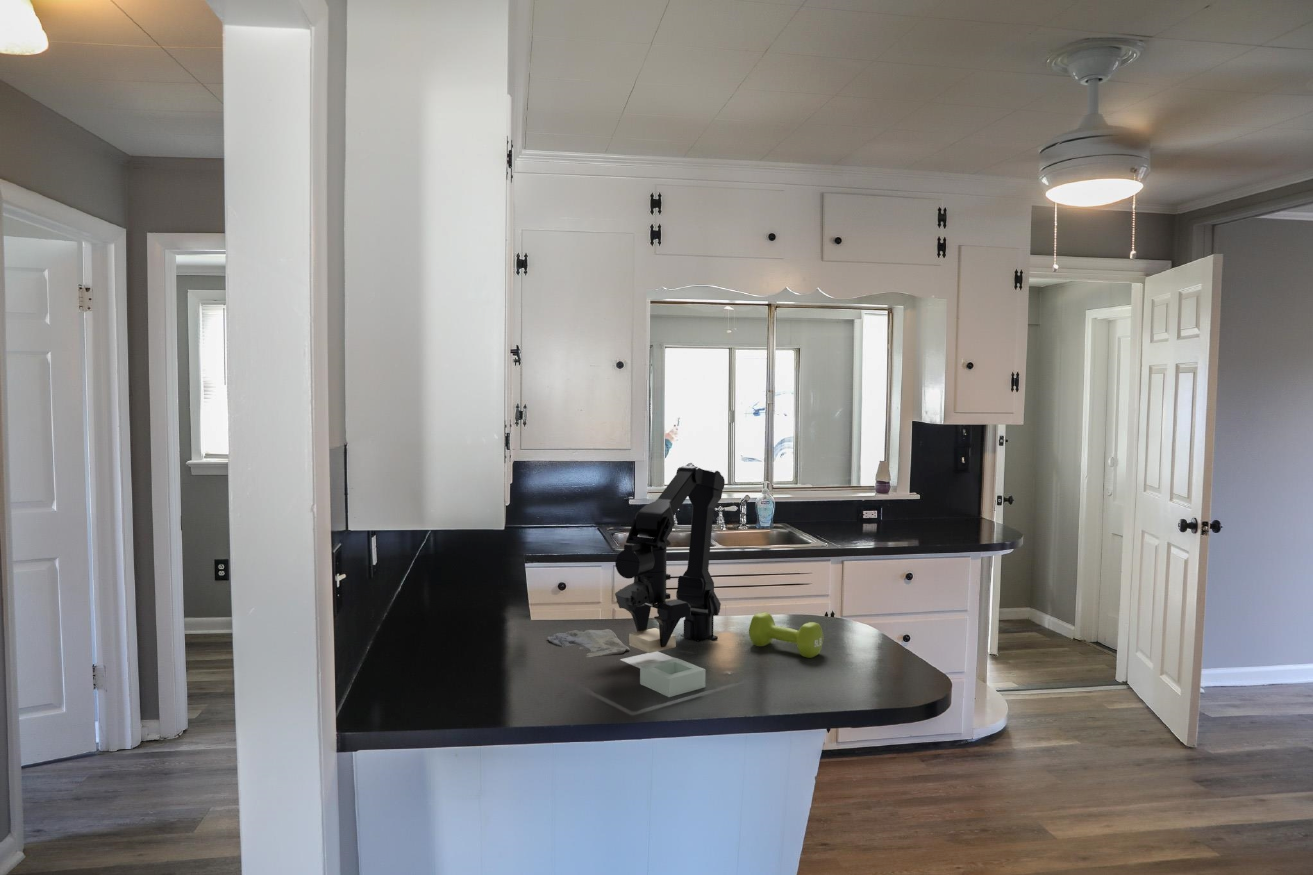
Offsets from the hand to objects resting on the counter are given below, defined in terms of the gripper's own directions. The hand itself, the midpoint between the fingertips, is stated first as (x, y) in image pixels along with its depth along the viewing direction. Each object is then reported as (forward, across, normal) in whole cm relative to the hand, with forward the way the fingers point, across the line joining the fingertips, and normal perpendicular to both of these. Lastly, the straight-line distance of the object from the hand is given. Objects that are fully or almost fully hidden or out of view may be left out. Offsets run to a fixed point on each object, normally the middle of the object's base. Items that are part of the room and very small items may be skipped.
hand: (652, 642), depth 176 cm
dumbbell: (+5, +10, +30) cm, 32 cm away
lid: (+1, 0, 0) cm, 1 cm away
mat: (+4, 0, 0) cm, 5 cm away
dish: (+4, +14, -6) cm, 16 cm away
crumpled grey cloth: (+5, -18, -4) cm, 19 cm away
